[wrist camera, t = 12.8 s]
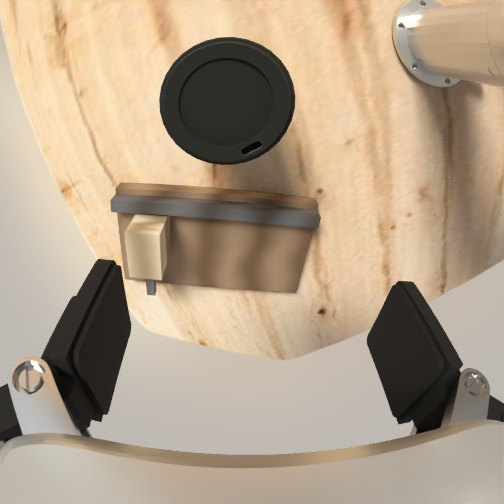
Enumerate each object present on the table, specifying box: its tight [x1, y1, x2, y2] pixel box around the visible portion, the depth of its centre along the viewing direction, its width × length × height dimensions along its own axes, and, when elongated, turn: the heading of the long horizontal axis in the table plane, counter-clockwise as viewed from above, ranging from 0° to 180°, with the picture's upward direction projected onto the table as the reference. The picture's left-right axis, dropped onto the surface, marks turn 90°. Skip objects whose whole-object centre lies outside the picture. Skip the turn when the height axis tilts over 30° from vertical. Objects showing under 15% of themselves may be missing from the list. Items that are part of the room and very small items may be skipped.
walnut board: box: [110, 183, 321, 293], centre depth 39 cm, size 25×14×4 cm, turn 83°
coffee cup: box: [159, 37, 295, 165], centre depth 25 cm, size 10×10×15 cm
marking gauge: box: [124, 213, 171, 295], centre depth 36 cm, size 4×10×6 cm, turn 173°
